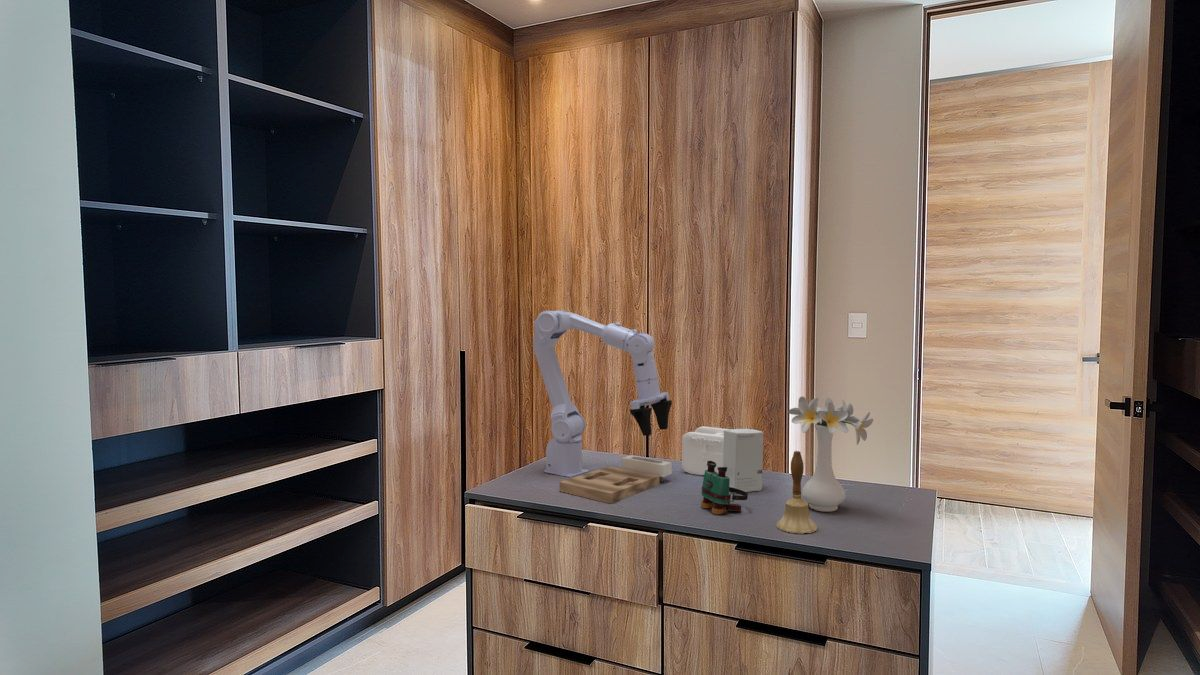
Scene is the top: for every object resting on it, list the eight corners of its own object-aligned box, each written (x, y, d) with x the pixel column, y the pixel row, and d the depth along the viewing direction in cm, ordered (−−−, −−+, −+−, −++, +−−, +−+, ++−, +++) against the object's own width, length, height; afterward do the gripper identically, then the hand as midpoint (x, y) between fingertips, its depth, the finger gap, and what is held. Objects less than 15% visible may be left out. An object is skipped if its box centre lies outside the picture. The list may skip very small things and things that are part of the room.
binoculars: (756, 468, 157) (718, 468, 153) (752, 515, 157) (713, 516, 153) (734, 459, 165) (697, 459, 161) (729, 504, 165) (692, 504, 161)
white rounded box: (747, 473, 191) (748, 431, 190) (732, 482, 182) (733, 437, 181) (696, 466, 199) (697, 425, 198) (679, 474, 190) (680, 431, 189)
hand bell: (771, 529, 145) (772, 453, 144) (782, 518, 152) (784, 445, 151) (811, 537, 141) (813, 458, 140) (821, 525, 148) (823, 450, 147)
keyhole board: (609, 475, 188) (609, 466, 188) (659, 485, 178) (659, 476, 178) (559, 491, 172) (559, 481, 172) (611, 503, 163) (611, 493, 162)
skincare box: (734, 494, 171) (735, 433, 170) (721, 487, 176) (722, 429, 175) (763, 490, 174) (764, 431, 173) (749, 484, 179) (750, 426, 179)
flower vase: (863, 522, 150) (867, 405, 148) (778, 508, 159) (780, 399, 158) (874, 507, 161) (877, 398, 159) (793, 494, 170) (796, 392, 169)
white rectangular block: (621, 475, 187) (622, 457, 186) (630, 472, 190) (630, 454, 190) (663, 484, 179) (663, 464, 178) (671, 480, 182) (671, 461, 182)
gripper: (643, 382, 173) (652, 437, 173) (674, 374, 184) (683, 425, 184) (620, 385, 177) (629, 438, 177) (652, 377, 188) (661, 427, 188)
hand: (655, 432), depth 181 cm, fingers open, 7 cm apart
